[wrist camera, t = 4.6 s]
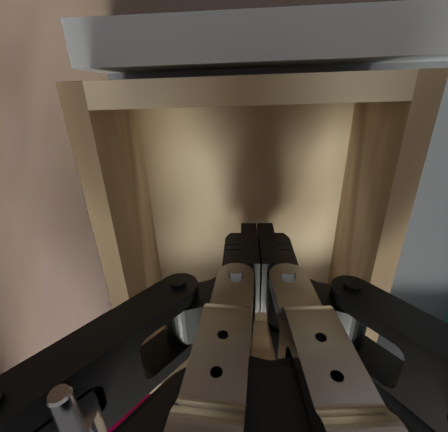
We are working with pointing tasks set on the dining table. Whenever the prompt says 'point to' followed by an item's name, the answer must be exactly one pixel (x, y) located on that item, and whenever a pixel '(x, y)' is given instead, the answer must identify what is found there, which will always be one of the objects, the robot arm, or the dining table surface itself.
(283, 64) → the bay
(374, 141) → the crate
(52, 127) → the dining table surface
